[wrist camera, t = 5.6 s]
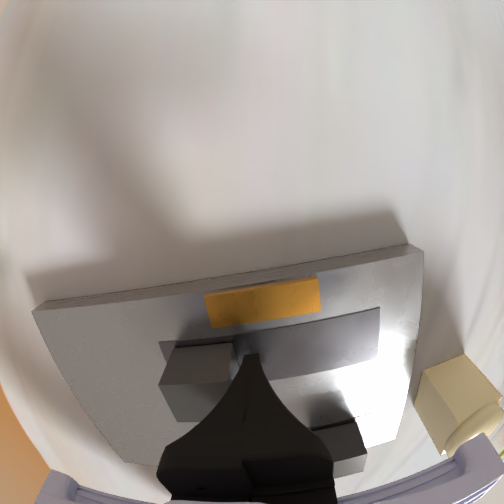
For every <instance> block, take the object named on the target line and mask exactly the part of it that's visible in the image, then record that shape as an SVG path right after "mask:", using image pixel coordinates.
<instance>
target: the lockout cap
mask: <svg viewBox="0 0 504 504" xmlns="http://www.w3.org/2000/svg"><path fill="white" fill-rule="evenodd" d="M502 397H503V396H502V395H501V394H500V393H499V391H498V390H497V389H496V388H495V387H494V386H493V384H492V383H491V382H490V381H489V380H488V379H487V378H486V376H485V375H484V374H483V373H482V372H481V371H480V370H479V369H478V368H477V366H476V365H475V364H474V363H473V362H472V361H471V360H470V359H469V358H468V357H467V356H466V355H465V354H462V355H460V356H457V357H455V358H453V359H450V360H448V361H446V362H443V363H441V364H438V365H436V366H433V367H430V368H428V369H425V370H423V372H422V377H421V381H420V385H419V389H418V393H417V397H416V400H415V404H414V408H415V410H416V411H417V413H418V415H419V417H420V418H421V420H422V422H423V424H424V426H425V427H426V429H427V431H428V433H429V435H430V437H431V438H432V440H433V442H434V444H435V446H436V448H437V450H438V452H439V454H440V456H441V455H443V454H445V453H446V454H447V456H448V458H450V457H452V456H453V455H454V453H455V451H456V450H457V448H458V447H459V446H461V445H462V444H463V443H465V442H467V441H468V440H470V439H472V438H474V437H475V436H477V435H479V434H480V433H482V432H484V433H485V435H486V436H487V437H488V436H489V435H490V434H491V433H492V432H493V431H494V430H495V428H496V427H497V426H498V424H499V423H500V421H501V420H502V417H503V415H504V410H503V409H502V408H501V407H500V405H499V403H500V401H501V399H502Z"/></svg>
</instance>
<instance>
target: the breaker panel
mask: <svg viewBox="0 0 504 504" xmlns="http://www.w3.org/2000/svg"><path fill="white" fill-rule="evenodd" d="M423 269H424V251H422V250H420V249H418V248H417V247H415V246H413V245H411V244H405V245H400V246H394V247H389V248H384V249H379V250H373V251H368V252H363V253H357V254H352V255H346V256H341V257H335V258H330V259H324V260H319V261H313V262H307V263H301V264H296V265H290V266H284V267H278V268H272V269H266V270H260V271H254V272H248V273H242V274H236V275H229V276H223V277H217V278H210V279H204V280H198V281H191V282H185V283H178V284H171V285H164V286H158V287H151V288H144V289H137V290H130V291H123V292H115V293H108V294H101V295H93V296H86V297H78V298H70V299H62V300H54V301H46V302H43V303H42V304H41V305H39V306H38V307H37V308H35V309H34V310H33V311H31V312H32V314H33V317H34V319H35V321H36V324H37V326H38V328H39V330H40V333H41V335H42V337H43V339H44V341H45V343H46V345H47V347H48V349H49V351H50V353H51V355H52V357H53V359H54V361H55V363H56V364H57V366H58V368H59V370H60V372H61V373H62V375H63V377H64V378H65V380H66V382H67V384H68V385H69V387H70V388H71V390H72V392H73V393H74V395H75V396H76V398H77V400H78V401H79V403H80V404H81V406H82V407H83V409H84V410H85V412H86V413H87V414H88V416H89V417H90V419H91V420H92V421H93V423H94V424H95V426H96V427H97V428H98V430H99V431H100V432H101V434H102V435H103V436H104V437H105V439H106V440H107V441H108V443H109V444H110V445H111V446H112V447H113V449H114V450H115V451H116V452H117V453H118V455H119V456H120V457H121V458H122V459H123V460H124V462H129V463H136V464H143V465H152V466H158V465H159V462H160V458H161V456H162V453H163V451H164V449H165V447H166V446H167V445H169V444H171V443H172V442H174V441H175V440H177V439H179V438H180V437H182V436H183V435H185V434H186V433H187V432H189V431H190V430H191V429H193V428H194V427H195V426H196V425H197V424H199V423H200V422H177V421H176V419H175V417H174V415H173V414H172V412H171V410H170V408H169V406H168V404H167V402H166V400H165V398H164V396H163V394H162V392H161V390H160V388H159V386H158V384H159V381H160V379H161V377H162V374H163V372H164V369H165V367H166V364H167V362H168V360H169V357H170V355H171V352H172V350H173V348H184V347H195V346H206V345H215V344H224V343H233V347H234V351H235V354H236V358H237V362H238V366H239V368H240V366H241V364H242V361H243V357H244V355H246V354H254V353H259V354H260V358H261V363H262V367H263V371H264V373H265V375H266V377H267V379H268V381H269V383H270V385H271V387H272V388H273V390H274V392H275V393H276V395H277V396H278V397H279V399H280V400H281V401H282V403H283V404H284V405H285V406H286V407H287V409H288V410H289V411H290V412H291V413H292V414H293V415H294V416H295V417H296V418H297V419H298V420H299V421H300V422H301V423H303V424H304V425H305V426H306V427H307V428H309V429H310V430H311V431H317V430H322V429H327V428H331V427H336V426H340V425H345V424H349V423H353V422H357V424H358V427H359V430H360V433H361V436H362V439H363V442H364V445H365V448H367V447H370V446H374V445H377V444H380V443H383V442H386V441H389V440H392V439H395V436H396V433H397V430H398V426H399V423H400V419H401V416H402V412H403V408H404V404H405V400H406V396H407V392H408V387H409V383H410V378H411V373H412V368H413V362H414V357H415V351H416V344H417V337H418V330H419V322H420V312H421V302H422V288H423Z"/></svg>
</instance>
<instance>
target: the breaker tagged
mask: <svg viewBox="0 0 504 504" xmlns="http://www.w3.org/2000/svg"><path fill="white" fill-rule="evenodd" d="M238 370H239V366H238V362H237V358H236V354H235V351H234V347H233V343H224V344H215V345H206V346H195V347H184V348H173V350H172V352H171V355H170V357H169V360H168V362H167V364H166V367H165V369H164V372H163V374H162V377H161V379H160V381H159V384H158V386H159V388H160V390H161V392H162V394H163V396H164V398H165V400H166V402H167V404H168V406H169V408H170V410H171V412H172V414H173V415H174V417H175V419H176V421H177V422H201V421H202V420H203V419H204V418H205V417H206V416H207V415H208V414H209V413H210V412H211V411H212V409H213V408H214V407H215V406H216V405H217V404H218V402H219V401H220V400H221V398H222V397H223V396H224V394H225V393H226V391H227V390H228V388H229V386H230V385H231V383H232V381H233V380H234V378H235V376H236V374H237V372H238Z"/></svg>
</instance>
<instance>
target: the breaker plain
mask: <svg viewBox="0 0 504 504" xmlns="http://www.w3.org/2000/svg"><path fill="white" fill-rule="evenodd" d="M313 432H314V433H315V434H317V435H318V436H319V437H320V438H321V440H322V441H323V442H324V444H325V445H326V447H327V448H328V450H329V452H330V454H331V456H332V458H333V461H334V471H333V478H339V477H343V476H347V475H351V474H355V473H359V472H362V471H363V470H364V466H365V462H366V458H367V451H366V448H365V445H364V442H363V439H362V436H361V433H360V430H359V427H358V424H357V422H353V423H349V424H345V425H340V426H336V427H331V428H327V429H322V430H317V431H313Z"/></svg>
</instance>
